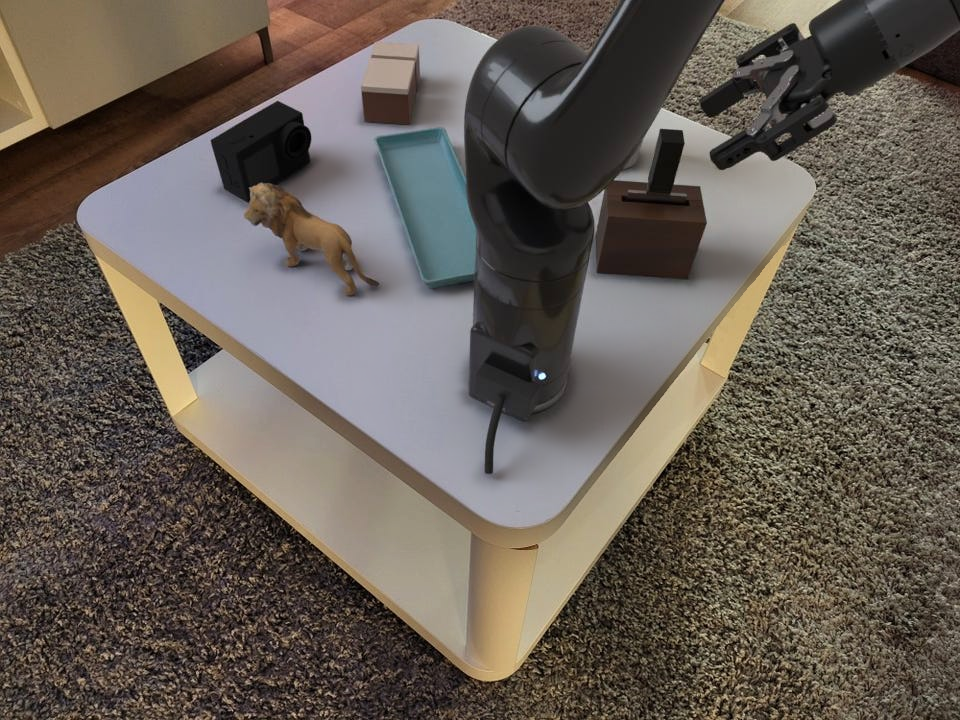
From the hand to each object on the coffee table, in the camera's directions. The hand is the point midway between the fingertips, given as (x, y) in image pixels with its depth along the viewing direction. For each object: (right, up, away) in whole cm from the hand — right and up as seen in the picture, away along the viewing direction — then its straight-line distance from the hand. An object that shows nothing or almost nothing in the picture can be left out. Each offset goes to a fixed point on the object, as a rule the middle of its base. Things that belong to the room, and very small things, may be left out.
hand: (708, 135), depth 72 cm
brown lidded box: (-34, +12, +30) cm, 47 cm away
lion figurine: (-40, -12, +10) cm, 43 cm away
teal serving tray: (-27, -4, +17) cm, 32 cm away
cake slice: (-33, +17, +34) cm, 50 cm away
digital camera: (-47, +1, +20) cm, 51 cm away
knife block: (-4, -10, +13) cm, 16 cm away
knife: (-4, -10, +13) cm, 16 cm away
